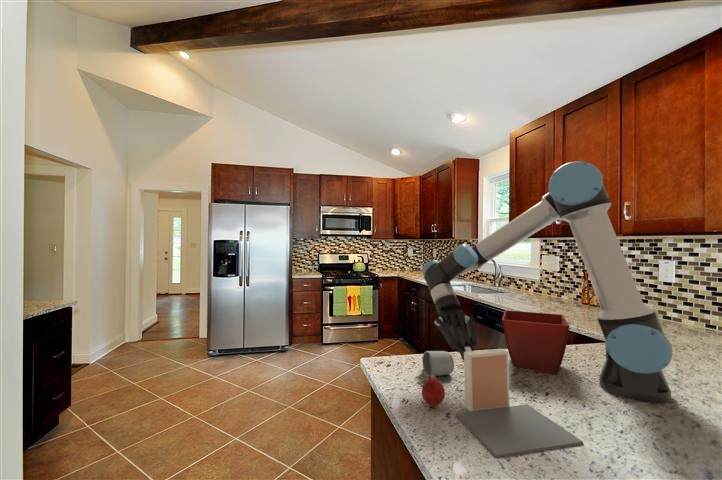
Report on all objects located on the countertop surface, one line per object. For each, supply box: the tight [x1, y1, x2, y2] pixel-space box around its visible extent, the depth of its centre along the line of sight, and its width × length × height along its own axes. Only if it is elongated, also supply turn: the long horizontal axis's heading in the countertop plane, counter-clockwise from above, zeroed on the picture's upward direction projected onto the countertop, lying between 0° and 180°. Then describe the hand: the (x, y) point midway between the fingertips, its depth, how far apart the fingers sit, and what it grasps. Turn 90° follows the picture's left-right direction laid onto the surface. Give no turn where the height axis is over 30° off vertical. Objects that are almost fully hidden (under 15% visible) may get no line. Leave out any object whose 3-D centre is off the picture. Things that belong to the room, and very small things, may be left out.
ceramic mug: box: [421, 350, 455, 378], centre depth 103 cm, size 11×8×8 cm
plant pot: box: [501, 309, 570, 375], centre depth 108 cm, size 19×19×17 cm
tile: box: [463, 348, 511, 412], centre depth 80 cm, size 11×3×14 cm, turn 101°
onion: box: [421, 375, 446, 408], centre depth 80 cm, size 6×6×8 cm
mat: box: [454, 403, 584, 459], centre depth 70 cm, size 16×20×1 cm
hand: (475, 371), depth 85 cm, fingers closed
